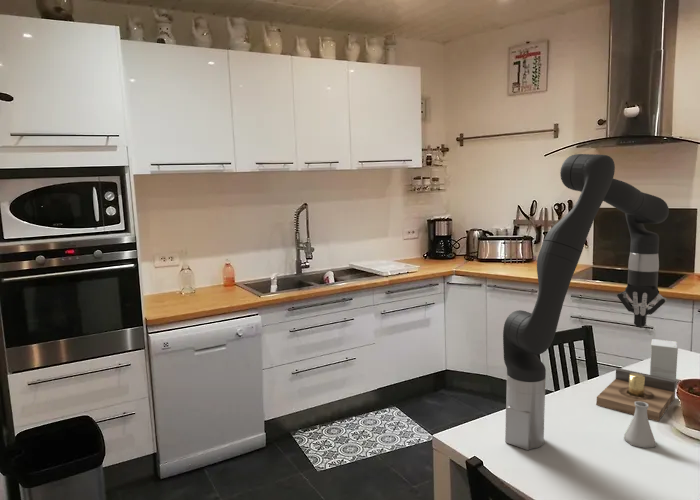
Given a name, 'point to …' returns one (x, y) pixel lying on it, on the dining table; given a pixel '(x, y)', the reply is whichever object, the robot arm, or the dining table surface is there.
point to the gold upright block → (636, 384)
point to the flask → (640, 428)
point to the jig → (655, 394)
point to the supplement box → (663, 359)
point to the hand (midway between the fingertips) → (639, 327)
